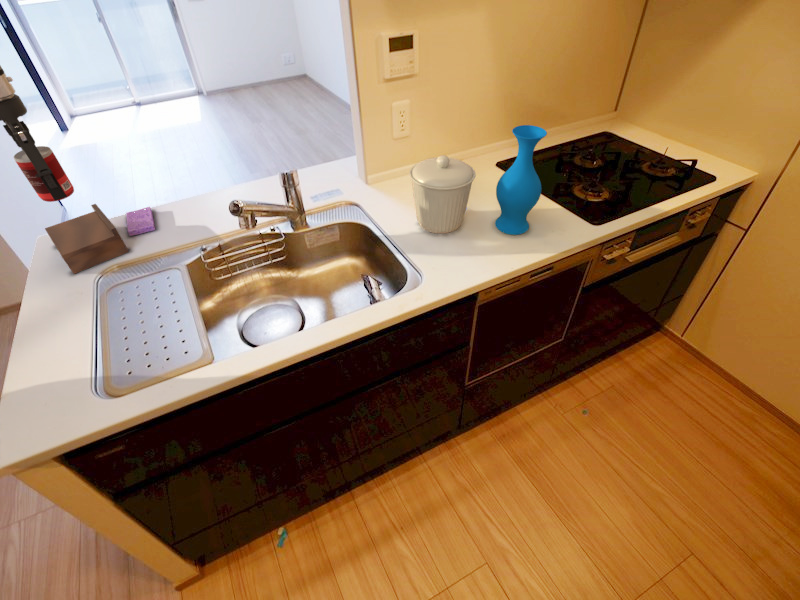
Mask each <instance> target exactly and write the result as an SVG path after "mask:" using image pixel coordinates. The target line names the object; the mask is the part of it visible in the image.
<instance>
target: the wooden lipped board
mask: <svg viewBox="0 0 800 600" xmlns="http://www.w3.org/2000/svg"><path fill="white" fill-rule="evenodd" d="M90 206H91V208H92V209H93V211H91V212H88V213H86V214H82V215H80V216H79V215H78V216H76V217H75V218H70V219H67V220H65V221H62V222H59V223H56V224H54V225H50V226H48V227H45V228H44V230H45V231H46V233H47V235H48V237H49V238H50V240H51V241H52V243H53V245H54V246H55V248H56V249H57V251H58V253H59V255H60V257H61V258H62V259H63V261H64V262H65V263H66V265H67V266H68V268H69V269H70V271H71V272H72V274H73V275H75V274H78V273H80V272H82V271H85V270H87V269H90V268H94V267H95V266H97V265H99V264H103V263H106V262H108V261H110V260H112V259H115V258H117V257H120V256H122V255H124V254H127V253H129V252H130V251H129V249H128V247H127V246H126V244H125V242H124V240H123V238H122V236H121V235H120V233H119V231H118V228H117V227H116V226H115V225H114V224H113V222H112V221H111V220H110V219H109V218H108V217H107V216H106V215H105V213H104V212H103V211H102V209H100V207H99V206H98V205H97V204H96V203H94V204H91V205H90Z"/></svg>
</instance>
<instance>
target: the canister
mask: <svg viewBox="0 0 800 600" xmlns="http://www.w3.org/2000/svg"><path fill="white" fill-rule="evenodd" d="M476 174H477V173H476V170H475V169H474V168H473V166H471V165H470V164H469V163H466V162H465V161H463V160H461V159H458V158H453V157H449V156H447V155H446V154H445V155H443V154H441V155H439V156H436V157H430V158H426V159H423V160H421V161H419V162H416V163H415V164H414V165H412V167H410V169H409V173H408V175H409V178H410V180H411V183H412V184H411V185H412V191H413V192H412V193H413V201H414V202H413V203H414V210H415V215H416V220H417V223H418V225H419V226H420V227H421V228H422V229H423V230H425V231H426V232H429V233H433V234H443V235H444V234H448V233H451V232H454V231H456V230H457V229H458V228H459V227H461V225H462V223H463V221H464V218H465V214H466V211H467V208H468V207H467V206H468V202H469V197H470V193H471V189H472V185H473V182H474V180H475V179H476V177H477V175H476Z"/></svg>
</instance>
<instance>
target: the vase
mask: <svg viewBox="0 0 800 600" xmlns="http://www.w3.org/2000/svg"><path fill="white" fill-rule="evenodd" d="M511 132H512V134H513V135H514V136H515V138H516V141H517V143H518V145H517V146H518V150H517V154H516V158H515V160H514V162H513V163H512V165H511V166H510V167H509V168H508V169H507V170H505V172H504V173H503V174H502V175H501V176H500V178H499V179H498V181H497V184H496V188H495V195H496V200H497V202H498V205H499V208H500V212H501V213H500V215H499V217H497V219H495V222H494V226H495V228H496V229H497V230H498V231H500V232H501V233H502V234H506V235H510V236H519V235H523V234H525V233H527V231H529V229H530V224H529V222H528V220H527V219H528V218H527V217H528V215H529V213H530V212H531V210H532V209H533V208H534V207H535V206H536V205H537V203H538V202H539V200H540V197H541V195H542V182H541V180H540V179H541V178H540V177H539V175H538V174H537V171H536V169H535V167H534V161H533V156H534V152H535V149H536V146H537V145H538V143H539V142H540V141H541V140H542V139H544V138H545V137H547V135H548V132H547V130H546V129H544V128H542V127H540V126H537V125H531V124H524V125H517V126H515V127H513V128H512V129H511Z"/></svg>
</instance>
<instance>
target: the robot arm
mask: <svg viewBox="0 0 800 600" xmlns="http://www.w3.org/2000/svg"><path fill="white" fill-rule="evenodd" d="M13 81H14V79H13V77H12V76H7V74H6V72H5V70H4V69H3V68H2V66H1V65H0V122H3V123H4V124H3V125H2V127H3V128H4V130H5V132H6V133H7V135H8V136H9V137H11V139H12V140H13V142H14V143H15V145H16V146H17V147H18V148H20V149H21V151H22V150H23V151H24V152H25V153H26V155H27V157H28V158H29V160H30V161H31V163H32V164H33V166H34V167H35V169H36V170H37V172H38V174H37V175H35V176H36V177H40V178H41V180H42V181H43V183H44V184H45V186H46V188H47V189H48V191H49V192H50V194H51V195H52V197H53V199H54V200H55V201H54V202H57V201H56V200H59V199H62V198H65V197H67V196H66V194H65V192H64V191H63V189H62V188H61V186H60V184H59V183H58V181H57V179H56V178H55V176H54V174H53V173H52V170H51V169H50V168H49V167H48V165H47V163H46V162H45V160H44V159H43V157H42V155H41V154H40V152H39V151H38V149H37V147H38V146H36V141H35V138H34V137H33V136H32V135H31V133H30V129H29V127H28V125H27V124H26V123H25V122H24V120H19V118H20V117H23V116H25V115H26V114H27V113H28V109H27V108H26V106H25V103H23V101H22V99H21V97H20V95H18V94H16V89H15V88H14V86H13V84H12V83H11V82H13ZM43 169H44V170H43ZM67 198H68V197H67ZM65 199H66V198H65ZM62 200H63V199H62ZM59 201H60V200H59Z"/></svg>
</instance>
